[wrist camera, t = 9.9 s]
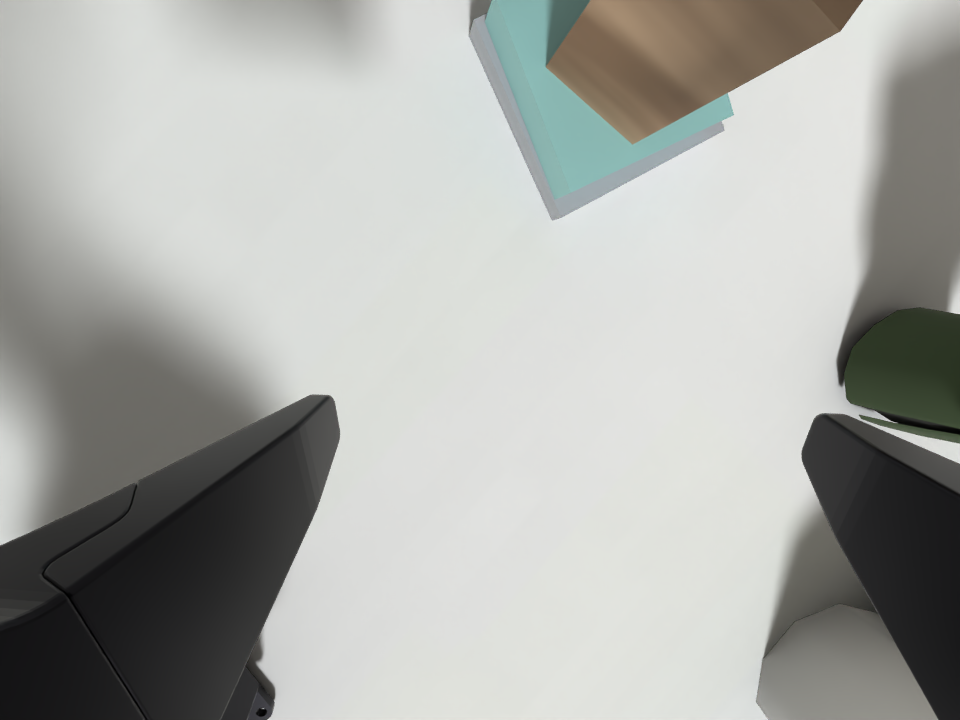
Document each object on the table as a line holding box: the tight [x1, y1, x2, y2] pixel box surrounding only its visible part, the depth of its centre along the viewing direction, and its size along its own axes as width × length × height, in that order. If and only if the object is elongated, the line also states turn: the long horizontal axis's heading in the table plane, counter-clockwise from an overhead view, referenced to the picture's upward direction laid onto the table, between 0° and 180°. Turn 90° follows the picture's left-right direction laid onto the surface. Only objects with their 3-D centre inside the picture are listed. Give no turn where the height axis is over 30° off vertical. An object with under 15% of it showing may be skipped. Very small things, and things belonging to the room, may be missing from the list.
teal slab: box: [485, 0, 734, 199], centre depth 18 cm, size 7×7×2 cm
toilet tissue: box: [756, 604, 938, 720], centre depth 24 cm, size 9×13×9 cm
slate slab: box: [469, 13, 724, 220], centre depth 20 cm, size 8×8×2 cm
